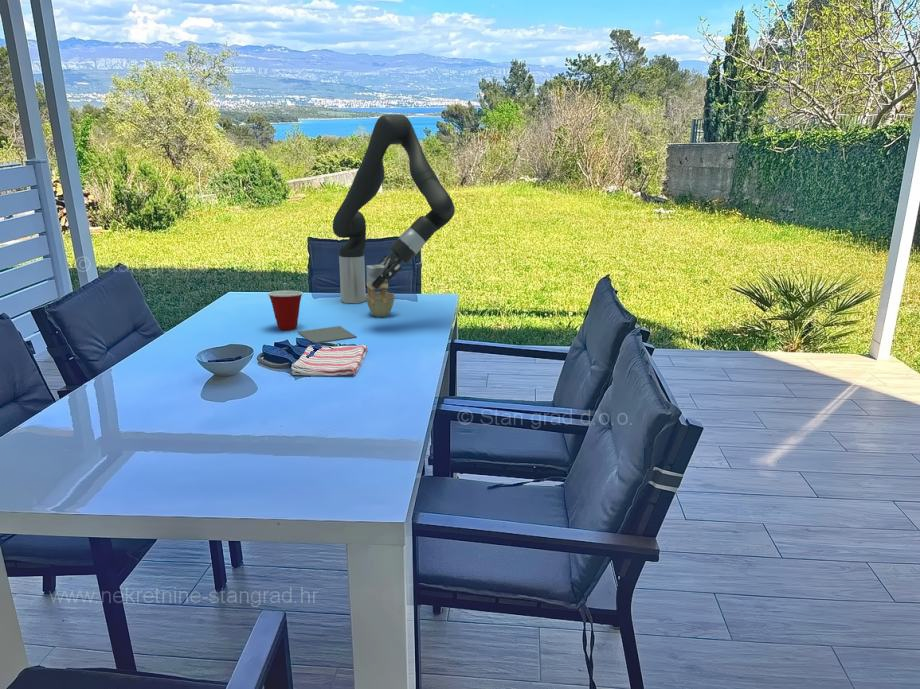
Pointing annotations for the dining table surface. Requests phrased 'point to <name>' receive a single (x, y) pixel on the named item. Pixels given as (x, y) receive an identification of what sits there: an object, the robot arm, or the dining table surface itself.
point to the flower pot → (381, 305)
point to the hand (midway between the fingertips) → (371, 284)
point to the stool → (372, 275)
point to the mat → (327, 334)
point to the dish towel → (330, 361)
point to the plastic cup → (286, 308)
